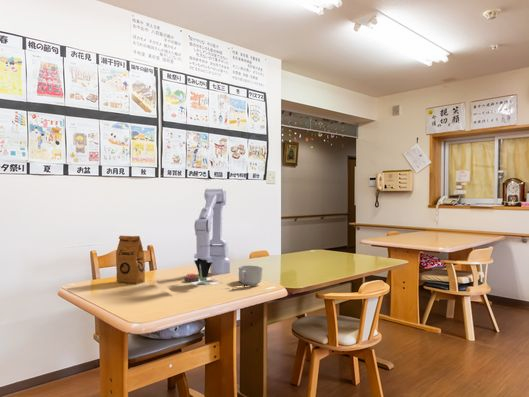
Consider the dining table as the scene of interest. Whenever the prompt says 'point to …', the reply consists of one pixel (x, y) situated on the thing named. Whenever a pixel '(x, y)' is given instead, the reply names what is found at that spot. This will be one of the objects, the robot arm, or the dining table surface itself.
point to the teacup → (250, 275)
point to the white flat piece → (197, 281)
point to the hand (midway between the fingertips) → (203, 276)
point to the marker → (201, 275)
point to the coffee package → (130, 260)
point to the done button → (191, 276)
